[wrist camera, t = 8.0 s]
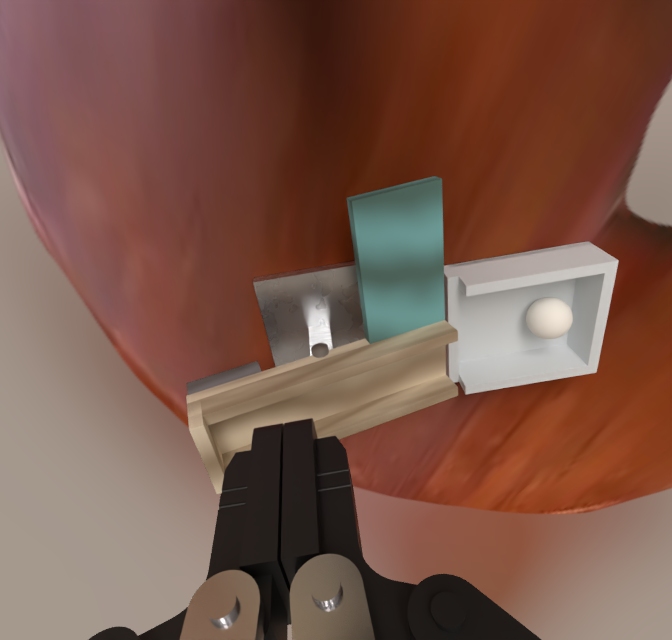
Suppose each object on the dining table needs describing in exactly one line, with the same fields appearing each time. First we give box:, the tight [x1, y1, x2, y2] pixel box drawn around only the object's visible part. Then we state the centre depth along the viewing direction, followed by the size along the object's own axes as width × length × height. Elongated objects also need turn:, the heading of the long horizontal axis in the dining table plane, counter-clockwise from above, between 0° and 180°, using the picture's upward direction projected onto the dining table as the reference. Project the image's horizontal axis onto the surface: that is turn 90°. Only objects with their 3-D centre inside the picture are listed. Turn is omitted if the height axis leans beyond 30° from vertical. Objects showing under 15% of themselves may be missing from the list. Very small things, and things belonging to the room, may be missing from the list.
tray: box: [444, 242, 619, 394], centre depth 43 cm, size 12×14×4 cm
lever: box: [186, 176, 458, 494], centre depth 35 cm, size 20×22×6 cm
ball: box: [526, 297, 573, 339], centre depth 42 cm, size 4×4×4 cm
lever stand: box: [253, 261, 365, 367], centre depth 42 cm, size 16×10×6 cm, turn 8°
